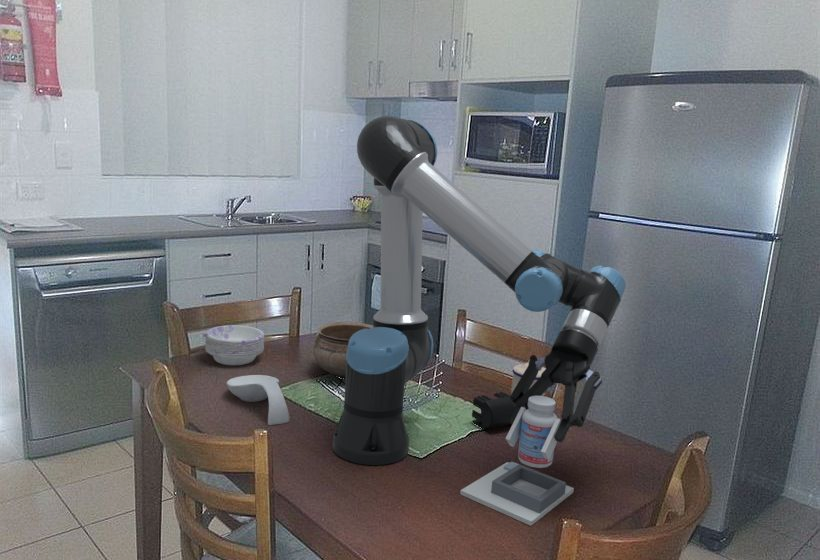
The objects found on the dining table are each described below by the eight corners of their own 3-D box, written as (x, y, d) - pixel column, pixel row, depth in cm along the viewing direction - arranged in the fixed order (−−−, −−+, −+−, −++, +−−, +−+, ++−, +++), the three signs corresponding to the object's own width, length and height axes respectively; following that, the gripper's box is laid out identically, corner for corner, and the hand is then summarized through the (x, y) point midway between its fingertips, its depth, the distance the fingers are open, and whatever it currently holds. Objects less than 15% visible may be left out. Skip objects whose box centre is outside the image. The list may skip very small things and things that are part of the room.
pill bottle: (514, 464, 115) (520, 402, 113) (521, 450, 120) (527, 391, 118) (549, 472, 113) (556, 409, 111) (555, 458, 118) (562, 397, 116)
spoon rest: (219, 391, 157) (220, 362, 156) (267, 385, 163) (268, 357, 162) (253, 430, 138) (254, 397, 136) (306, 421, 144) (308, 390, 142)
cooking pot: (408, 381, 173) (411, 336, 171) (356, 397, 159) (359, 348, 157) (341, 357, 189) (344, 315, 187) (289, 370, 175) (291, 325, 173)
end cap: (490, 435, 144) (493, 405, 142) (469, 423, 149) (472, 394, 148) (524, 427, 149) (527, 399, 148) (502, 416, 155) (505, 388, 154)
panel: (460, 494, 117) (461, 478, 117) (506, 465, 130) (508, 451, 129) (530, 526, 109) (532, 509, 108) (573, 492, 121) (575, 477, 121)
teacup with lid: (529, 415, 157) (534, 368, 154) (501, 402, 164) (506, 357, 161) (561, 406, 164) (567, 361, 162) (533, 394, 171) (538, 351, 169)
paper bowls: (256, 371, 172) (257, 342, 171) (197, 367, 172) (197, 337, 171) (268, 354, 187) (270, 327, 186) (214, 350, 187) (215, 322, 186)
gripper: (633, 363, 120) (584, 477, 110) (538, 339, 131) (486, 441, 121) (626, 339, 115) (574, 457, 105) (527, 317, 126) (472, 422, 116)
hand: (527, 448), depth 113 cm, fingers closed on pill bottle, 6 cm apart
